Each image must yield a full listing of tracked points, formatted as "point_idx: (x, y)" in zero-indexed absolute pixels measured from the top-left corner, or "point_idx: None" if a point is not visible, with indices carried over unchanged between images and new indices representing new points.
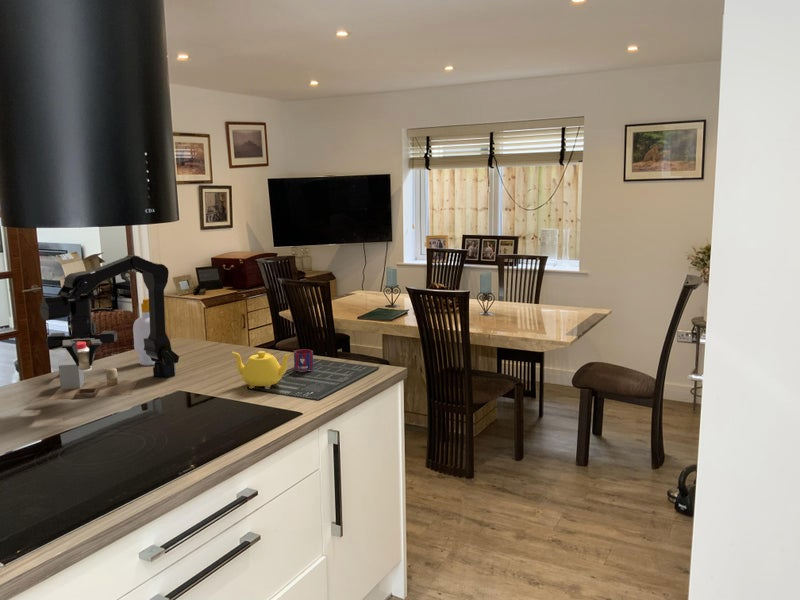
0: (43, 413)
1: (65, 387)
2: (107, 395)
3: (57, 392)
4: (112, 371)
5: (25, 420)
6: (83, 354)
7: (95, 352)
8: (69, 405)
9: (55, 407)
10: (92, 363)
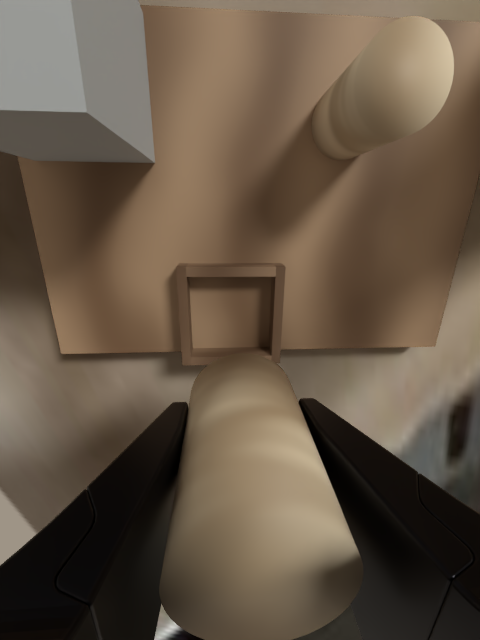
0: (101, 440)
1: (59, 159)
2: (331, 341)
3: (45, 228)
4: (409, 134)
5: (69, 493)
6: (272, 621)
7: (444, 498)
8: (171, 368)
9: (119, 382)
10: (321, 406)
